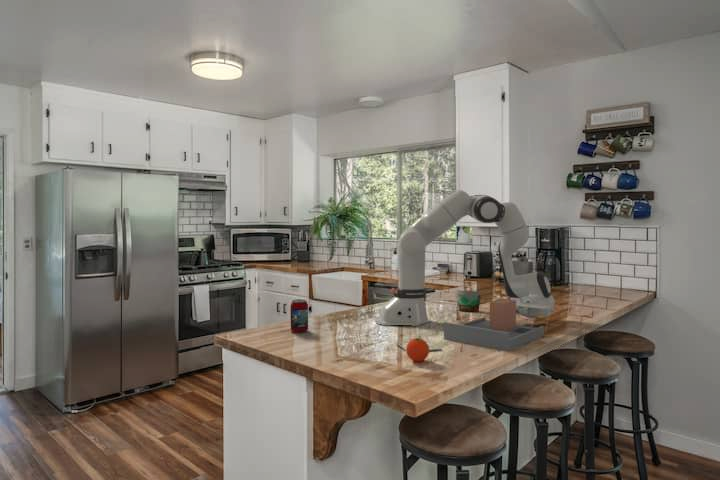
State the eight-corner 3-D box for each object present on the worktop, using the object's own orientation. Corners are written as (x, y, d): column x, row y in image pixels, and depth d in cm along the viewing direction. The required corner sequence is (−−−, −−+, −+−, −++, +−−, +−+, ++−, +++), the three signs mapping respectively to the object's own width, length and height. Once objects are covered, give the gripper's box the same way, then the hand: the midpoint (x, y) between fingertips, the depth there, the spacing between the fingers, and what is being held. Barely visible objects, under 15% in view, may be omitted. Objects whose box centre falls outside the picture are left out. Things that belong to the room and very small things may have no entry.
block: (502, 324, 189) (502, 298, 188) (515, 326, 185) (516, 300, 184) (489, 328, 181) (489, 301, 181) (503, 330, 178) (503, 303, 177)
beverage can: (294, 334, 184) (293, 302, 184) (288, 330, 190) (287, 299, 190) (310, 332, 187) (310, 301, 187) (304, 328, 193) (304, 298, 193)
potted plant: (453, 311, 227) (453, 290, 227) (455, 309, 233) (455, 288, 233) (480, 313, 223) (480, 291, 222) (482, 311, 228) (482, 290, 228)
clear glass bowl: (408, 355, 157) (408, 340, 157) (395, 345, 169) (395, 332, 169) (442, 352, 161) (442, 337, 161) (427, 343, 172) (427, 329, 172)
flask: (534, 291, 291) (535, 257, 290) (529, 292, 288) (530, 258, 287) (512, 288, 303) (513, 256, 302) (507, 289, 299) (507, 256, 298)
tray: (483, 325, 197) (483, 311, 197) (543, 335, 181) (544, 319, 180) (443, 338, 176) (443, 322, 176) (507, 351, 159) (507, 333, 159)
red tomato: (409, 356, 154) (409, 333, 154) (431, 358, 152) (431, 335, 152) (404, 363, 147) (404, 340, 146) (427, 365, 145) (427, 341, 144)
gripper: (557, 317, 192) (543, 323, 182) (508, 311, 206) (492, 316, 196) (557, 301, 192) (543, 306, 182) (508, 296, 206) (492, 300, 196)
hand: (516, 311), depth 189 cm, fingers closed
